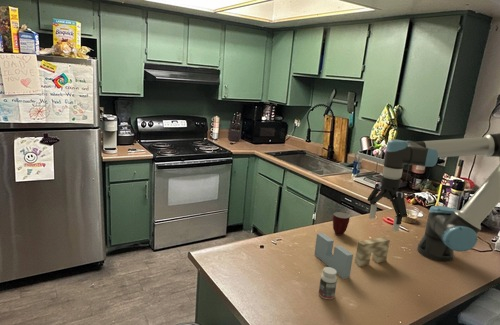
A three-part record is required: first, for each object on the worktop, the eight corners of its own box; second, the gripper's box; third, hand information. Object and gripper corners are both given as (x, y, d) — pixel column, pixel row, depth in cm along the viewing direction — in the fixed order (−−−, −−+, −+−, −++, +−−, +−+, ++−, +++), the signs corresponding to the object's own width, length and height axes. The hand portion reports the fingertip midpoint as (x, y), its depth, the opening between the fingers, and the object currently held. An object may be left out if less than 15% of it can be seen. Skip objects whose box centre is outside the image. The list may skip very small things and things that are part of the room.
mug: (349, 240, 171) (352, 221, 168) (332, 238, 171) (335, 219, 169) (345, 231, 181) (348, 213, 179) (329, 229, 182) (332, 211, 179)
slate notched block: (349, 277, 137) (353, 254, 135) (343, 278, 136) (347, 255, 134) (319, 253, 155) (322, 232, 153) (314, 254, 154) (317, 233, 151)
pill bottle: (316, 290, 127) (319, 265, 125) (331, 290, 128) (335, 266, 126) (320, 299, 122) (324, 274, 119) (336, 300, 122) (340, 275, 120)
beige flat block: (380, 257, 155) (384, 237, 153) (386, 261, 153) (389, 240, 150) (354, 262, 149) (358, 241, 147) (359, 266, 147) (363, 244, 144)
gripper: (423, 185, 135) (413, 235, 140) (376, 168, 157) (369, 212, 162) (409, 186, 132) (399, 237, 137) (363, 169, 154) (356, 214, 159)
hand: (383, 224), depth 150 cm, fingers open, 13 cm apart
